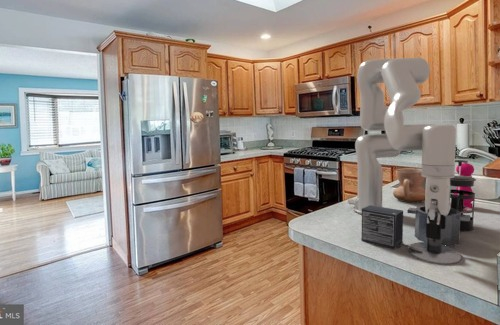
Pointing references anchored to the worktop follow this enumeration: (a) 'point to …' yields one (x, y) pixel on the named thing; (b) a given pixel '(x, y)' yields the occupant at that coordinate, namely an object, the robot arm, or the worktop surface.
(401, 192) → the ceramic jug
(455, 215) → the pot
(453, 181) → the french press
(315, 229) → the worktop surface
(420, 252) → the lid
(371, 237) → the small box
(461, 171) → the pepper mill
